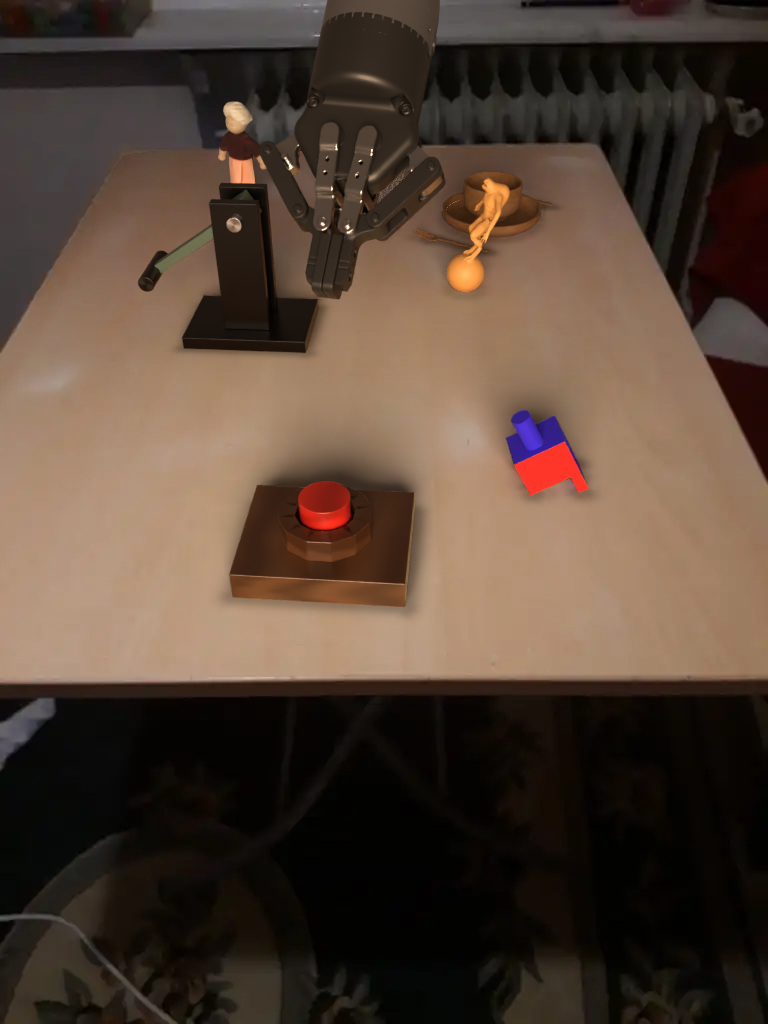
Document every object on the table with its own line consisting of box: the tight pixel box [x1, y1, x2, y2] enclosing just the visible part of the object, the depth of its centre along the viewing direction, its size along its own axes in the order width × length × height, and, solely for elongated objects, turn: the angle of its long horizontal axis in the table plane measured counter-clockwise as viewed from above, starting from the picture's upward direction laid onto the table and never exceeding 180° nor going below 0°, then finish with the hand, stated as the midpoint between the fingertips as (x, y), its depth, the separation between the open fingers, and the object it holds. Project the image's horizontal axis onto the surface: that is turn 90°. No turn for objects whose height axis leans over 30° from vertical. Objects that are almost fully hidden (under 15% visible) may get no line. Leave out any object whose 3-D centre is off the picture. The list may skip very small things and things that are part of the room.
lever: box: [137, 190, 262, 293], centre depth 90 cm, size 13×6×2 cm
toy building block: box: [505, 409, 589, 496], centre depth 74 cm, size 4×4×8 cm
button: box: [298, 480, 351, 531], centre depth 66 cm, size 4×4×2 cm
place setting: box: [379, 171, 553, 253], centre depth 115 cm, size 18×20×6 cm
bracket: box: [181, 182, 320, 354], centre depth 91 cm, size 12×9×14 cm
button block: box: [228, 483, 416, 608], centre depth 68 cm, size 12×10×4 cm
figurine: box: [446, 178, 510, 293], centre depth 97 cm, size 8×6×12 cm
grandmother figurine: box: [217, 101, 267, 184], centre depth 115 cm, size 8×4×13 cm, turn 67°
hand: (325, 294), depth 62 cm, fingers closed
